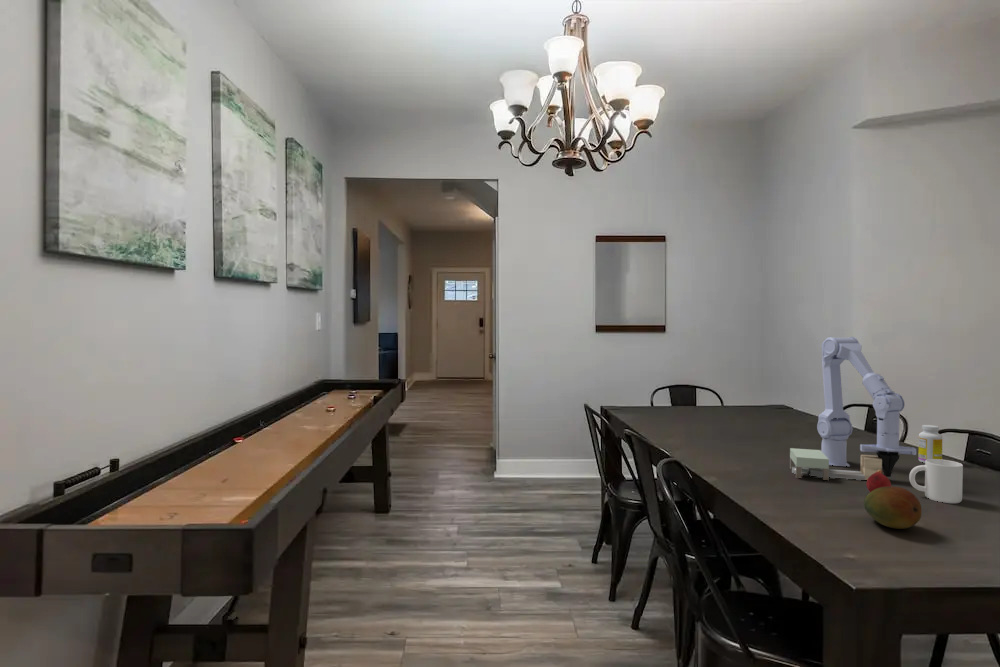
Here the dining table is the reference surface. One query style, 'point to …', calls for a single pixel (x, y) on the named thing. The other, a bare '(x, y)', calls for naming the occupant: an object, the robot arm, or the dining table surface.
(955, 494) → the mug
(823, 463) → the green top stand
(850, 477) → the beige piece
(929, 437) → the supplement bottle
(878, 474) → the pomegranate
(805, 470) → the token
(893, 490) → the fruit
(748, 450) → the dining table surface
